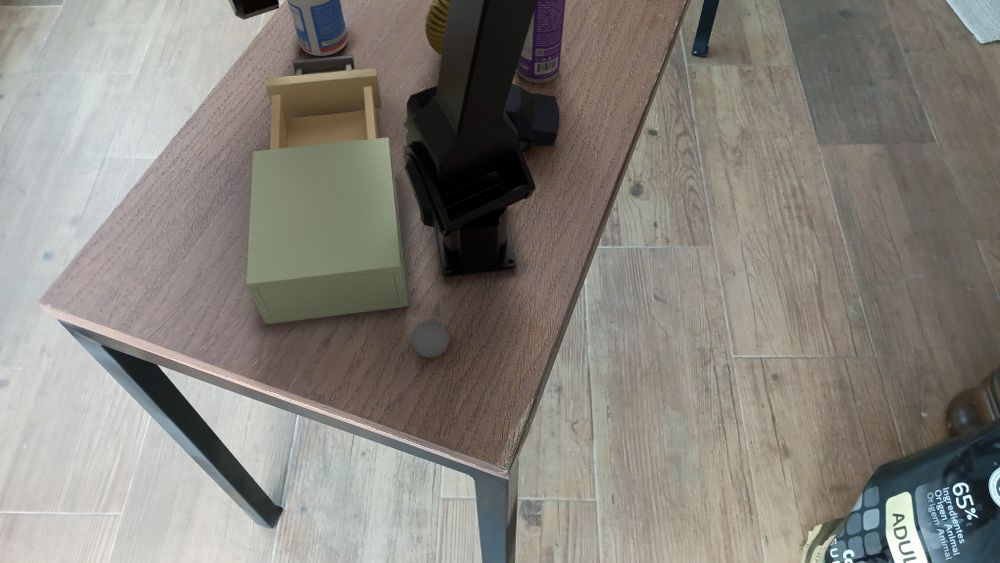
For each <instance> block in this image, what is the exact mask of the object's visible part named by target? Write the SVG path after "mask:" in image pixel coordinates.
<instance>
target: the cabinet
mask: <svg viewBox="0 0 1000 563" xmlns="http://www.w3.org/2000/svg"><path fill="white" fill-rule="evenodd" d="M394 168H395V167H394V162H393V156H392V150H391V144H390V138H389V137H379V138H378V139H368V140H358V141H349V142H339V143H329V144H319V145H310V146H300V147H290V148H281V149H271V150H270V149H262V150H253V151H252V165H251V186H250V202H249V203H250V205H249V220H248V221H249V224H248V242H247V243H248V244H247V258H246V259H247V262H246V281H245V285H246V287H247V289H248V291H249V294H250V296H251V297H252V299H253V301H254V304H255V305H256V307H257V309H258V312H259V313H260V315H261V317H262V319H263V322H264V323H265V325H271V324H272V325H273V324H278V323H287V322H294V321H302V320H311V319H320V318H328V317H334V316H343V315H351V314H358V313H367V312H375V311H383V310H391V309H399V308H408V307H409V301H408V291H407V281H406V271H405V270H406V269H405V261H404V260H405V259H404V251H403V250H404V249H403V243H402V242H403V240H402V231H401V220H400V211H399V201H398V192H397V181H396V175H395V169H394Z"/></svg>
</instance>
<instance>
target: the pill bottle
mask: <svg viewBox="0 0 1000 563" xmlns="http://www.w3.org/2000/svg"><path fill="white" fill-rule="evenodd" d="M287 5H288V7H289V8H288V9H289V11H290V14H291V15H290V16H291V18H292V22H293V25H294V29H295V32H296V37H297V41H298V43H299V45H300V47H301V49H302V51H304V52H305V53H307V54H309V55H312V56H318V57H328V56H330V55H333V54H337V53H338V52H340V51H341V50H342V49H343V48H344V47H345V46H346V45H347V42H348V39H349V38H348V30H347V26H346V22H345V17H344V12H343V8H342V2H341V0H287Z"/></svg>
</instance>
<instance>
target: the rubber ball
mask: <svg viewBox="0 0 1000 563" xmlns="http://www.w3.org/2000/svg"><path fill="white" fill-rule="evenodd" d="M410 340H411V345H412V348H413V350H414V351H415V352H416V353H417V354H418V355H419V356H421V357H423V358H429V359H430V358H436V357H439V356H441V355H442V354H443V353H445V351H446V350H447V349H448V346H449V342H450V336H449V332H448V330H447V328H446V327H445V326H444V325H443V324H442V323H440V321H436V320H434V319H433V320H432V319H428V320H423V321H421V322H420V323H418V324H417V325H416V326H415V327H414V328H413V330H412V332H411V338H410Z"/></svg>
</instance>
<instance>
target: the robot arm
mask: <svg viewBox="0 0 1000 563" xmlns="http://www.w3.org/2000/svg"><path fill="white" fill-rule="evenodd" d="M227 1H228V3H229V5H230V8H231V10H232V11H233V14H234V16H235V17H237V18H240V19H242V20H243V21H244V20H247V19H251V18H253V17H256V16H257V17H258V16H260V15H263V14H266V13H269V12H272V11H275V10H278V9H280V2H279V0H227ZM537 1H538V0H450V1H449V8H448V15H447V22H446V29H445V36H444V43H443V50H442V55H441V58H440V65H439V72H438V77H437V78H438V79H437V84H435V85H433V86H430V87H428V88H425V89H423V90H420V91H418V92H415V93H412V94H410V96H409V97H408V100H407V101H406V119H405V121H404V122H403V126H404V128H405V129H406V130H407V131H406V134H405V141H406V145H404V146H403V154H402V157H403V162H404V166H403V168H404V171H405V174H406V176H407V179H408V182H409V185H410V188H411V190H412V193H413V196H414V198H415V200H416V203H417V205H418V209H419V214H420V221H421V223H422V224H423V225H424V226H426V227H430V228H431V227H432V228H433V229H435V228H436V231H437V240H438V248H439V253H440V262H441V263H440V264H441V269H442V274H443V276H445V277H456V276H466V275H473V274H482V273H491V272H499V271H508V270H513V269H515V268H516V266H517V258H516V253H515V249H514V244H513V239H512V235H511V229H510V225H509V207H510V206H512V205H514V204H516V203H519V202H520V201H523V200H528V199H530V198H531V197H532V196H533V194H534V193H535V191H536V189H537V186H536V183H535V180H534V178H533V175H532V172H531V170H530V168H529V165H528V162H527V159H526V156H525V154H524V153H523V152H522V149H521V146H520V144H519V141H518V139H517V129H516V128H515V126H514V125H513V123H512V121H511V120H510V118H509V117H508V115H507V113H506V112H505V110H504V109H505V105H506V102H507V99H508V95H509V92H510V89H511V86H512V83H514V78H515V75H516V73H517V66H518V63H519V59H520V56H521V53H522V50H523V46H524V43H525V40H526V37H527V33H528V30H529V27H530V23H531V20H532V17H533V14H534V10H535V7H536V4H537ZM448 270H449V271H448Z"/></svg>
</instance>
